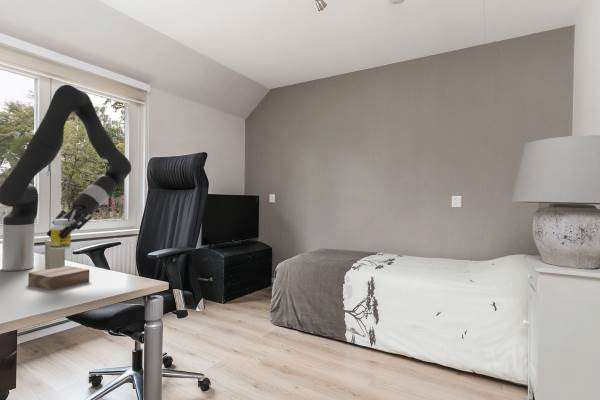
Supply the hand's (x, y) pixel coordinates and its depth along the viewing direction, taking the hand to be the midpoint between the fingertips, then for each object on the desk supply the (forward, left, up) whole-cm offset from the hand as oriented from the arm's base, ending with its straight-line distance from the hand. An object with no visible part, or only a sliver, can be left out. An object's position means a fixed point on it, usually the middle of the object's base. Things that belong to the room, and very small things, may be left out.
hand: (55, 236), depth 109 cm
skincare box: (-16, +10, -16) cm, 25 cm away
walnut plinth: (0, +2, -16) cm, 16 cm away
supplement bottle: (0, +2, -4) cm, 5 cm away
